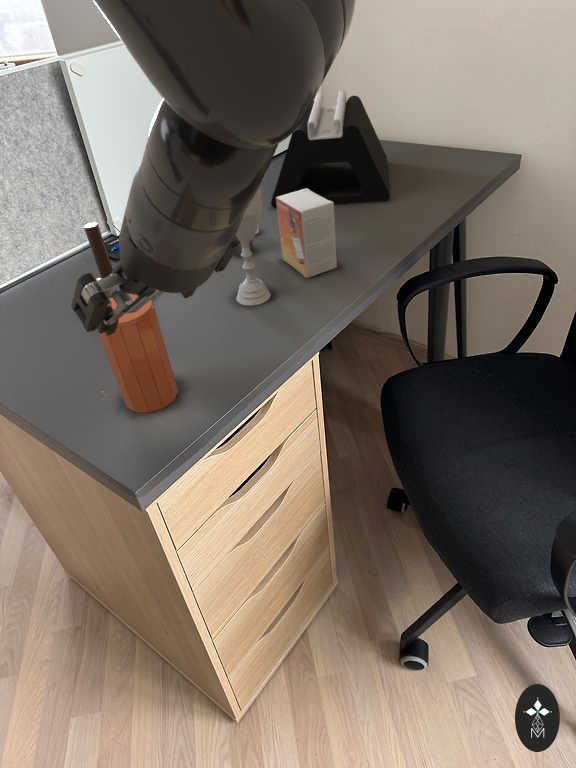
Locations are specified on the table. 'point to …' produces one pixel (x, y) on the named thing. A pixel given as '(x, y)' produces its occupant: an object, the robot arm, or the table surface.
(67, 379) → the table surface
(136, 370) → the cup
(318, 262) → the small box
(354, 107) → the device stand
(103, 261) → the stand
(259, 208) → the chalice
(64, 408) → the table surface
